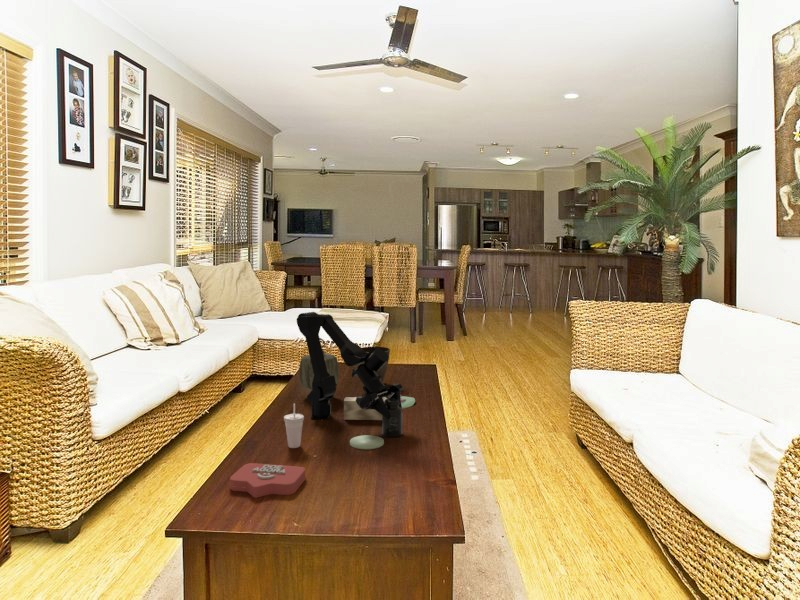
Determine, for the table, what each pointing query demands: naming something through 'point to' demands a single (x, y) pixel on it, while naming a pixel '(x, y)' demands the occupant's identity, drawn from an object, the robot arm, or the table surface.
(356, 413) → the block
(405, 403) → the decorated green tray
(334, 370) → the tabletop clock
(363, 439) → the green pad
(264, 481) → the plaque
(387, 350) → the plant pot
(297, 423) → the smoothie
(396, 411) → the supplement bottle
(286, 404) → the table surface
